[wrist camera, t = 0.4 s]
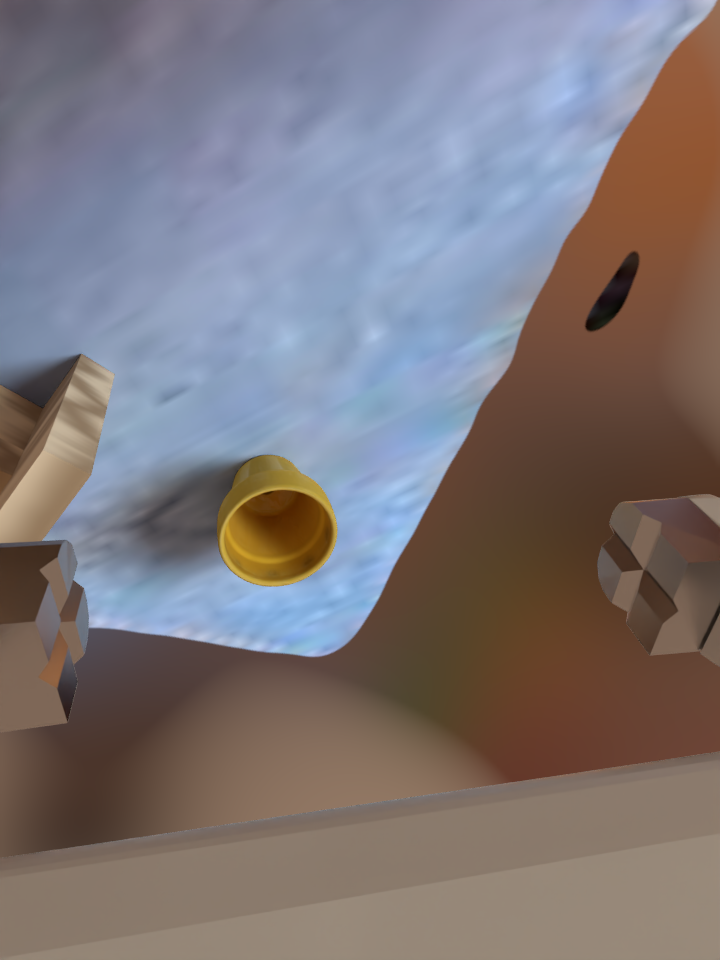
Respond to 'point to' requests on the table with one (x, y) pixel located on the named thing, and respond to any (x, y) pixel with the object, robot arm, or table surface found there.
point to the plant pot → (275, 523)
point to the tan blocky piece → (49, 450)
